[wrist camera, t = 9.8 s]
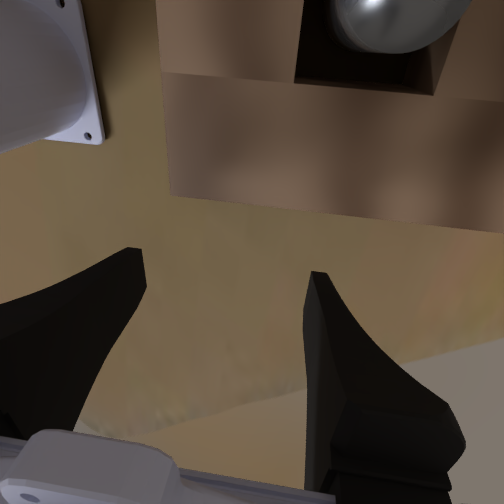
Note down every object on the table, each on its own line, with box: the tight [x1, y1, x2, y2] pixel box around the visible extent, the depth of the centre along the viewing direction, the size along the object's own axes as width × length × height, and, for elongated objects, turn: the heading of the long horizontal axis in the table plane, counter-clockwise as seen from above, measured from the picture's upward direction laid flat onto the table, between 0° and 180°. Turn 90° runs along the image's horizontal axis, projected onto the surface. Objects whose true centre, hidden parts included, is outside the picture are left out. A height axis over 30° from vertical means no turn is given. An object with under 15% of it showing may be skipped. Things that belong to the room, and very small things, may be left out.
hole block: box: [155, 0, 504, 233], centre depth 14 cm, size 18×18×5 cm
